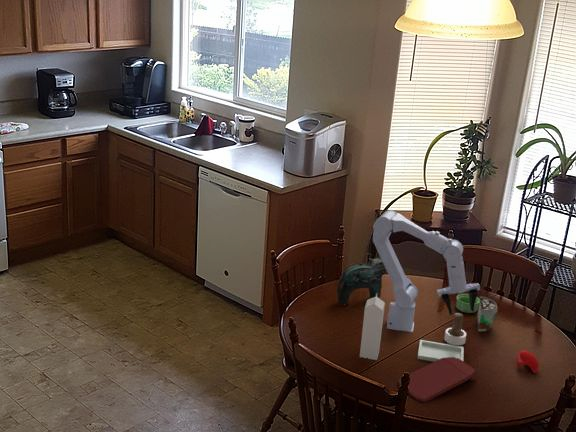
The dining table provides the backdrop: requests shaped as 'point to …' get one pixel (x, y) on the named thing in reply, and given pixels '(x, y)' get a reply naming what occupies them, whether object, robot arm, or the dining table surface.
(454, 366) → the dark red slab
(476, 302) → the ramekin
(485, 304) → the food container
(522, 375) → the dining table surface
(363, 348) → the milk
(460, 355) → the tray
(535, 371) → the red helmet
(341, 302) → the ceramic cat
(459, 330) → the dowel
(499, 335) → the dining table surface
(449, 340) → the cup
